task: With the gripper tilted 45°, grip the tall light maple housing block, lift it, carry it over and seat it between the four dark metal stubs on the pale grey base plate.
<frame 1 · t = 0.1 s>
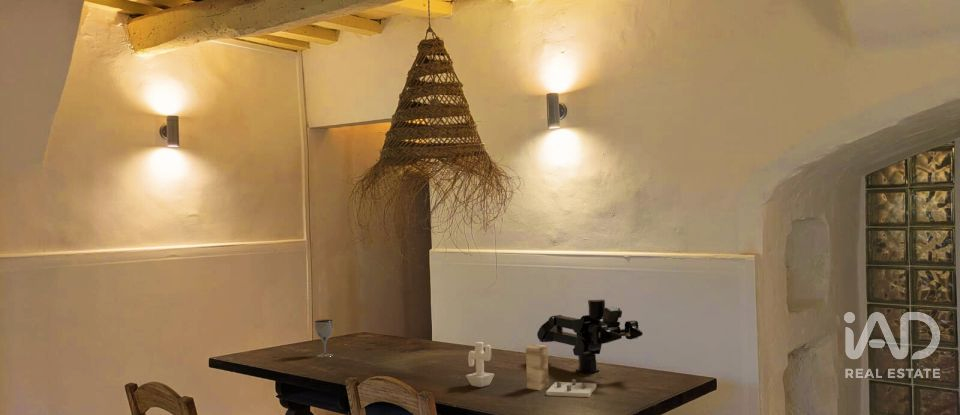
hand: (631, 335, 273), 17 cm above the table, tool horizontal, fingers open, 9 cm apart
figurine: (480, 385, 279), on the table
maple housing block: (537, 387, 273), on the table
wine glass: (325, 356, 343), on the table
stub base plate: (571, 391, 266), on the table
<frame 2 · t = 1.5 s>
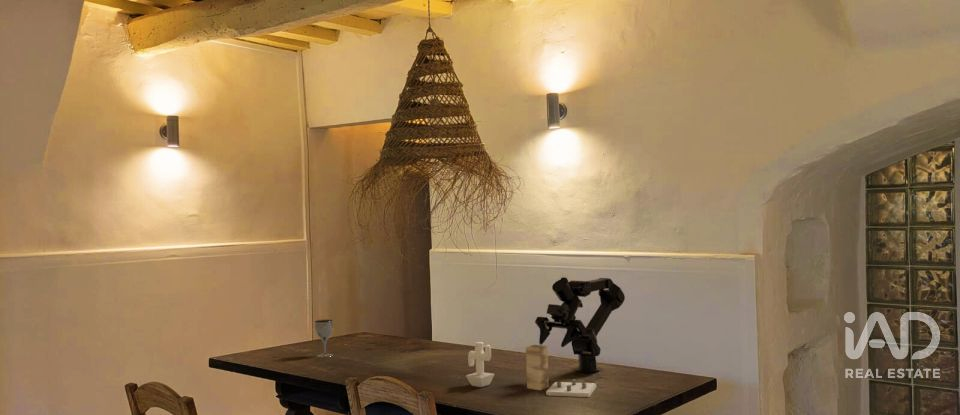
hand: (550, 345, 278), 13 cm above the table, tool tilted 45°, fingers open, 9 cm apart
nothing on the table moved.
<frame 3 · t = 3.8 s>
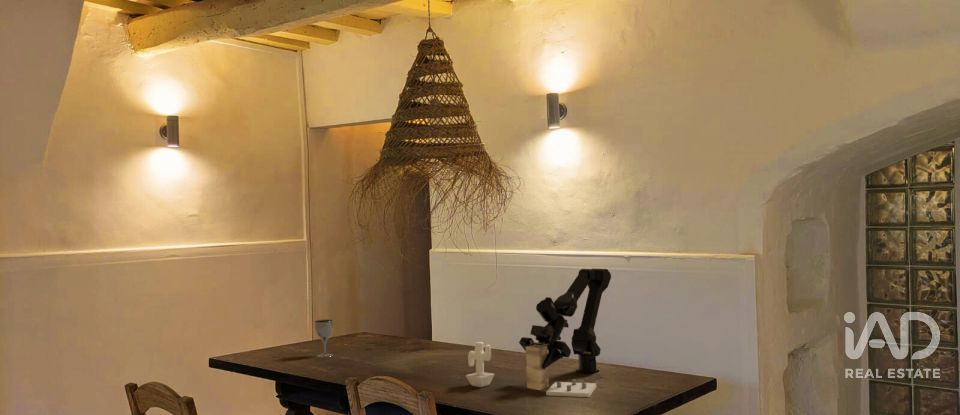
hand: (534, 367, 271), 7 cm above the table, tool tilted 45°, fingers open, 7 cm apart
nothing on the table moved.
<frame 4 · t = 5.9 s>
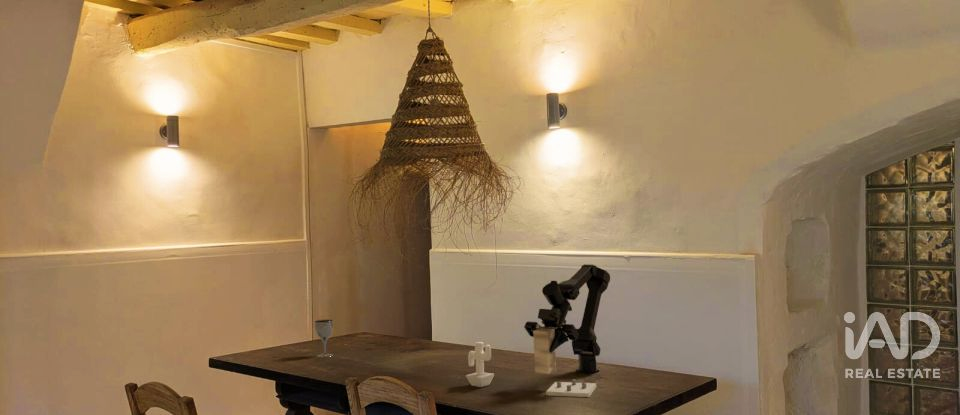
hand: (543, 351, 269), 13 cm above the table, tool tilted 45°, fingers closed on maple housing block, 5 cm apart
maple housing block: (545, 371, 270), point 6 cm above the table, touching gripper
everything else where it was.
when the fingers open (9 cm above the table, at t = 8.0 s): maple housing block stays where it is, resting on stub base plate.
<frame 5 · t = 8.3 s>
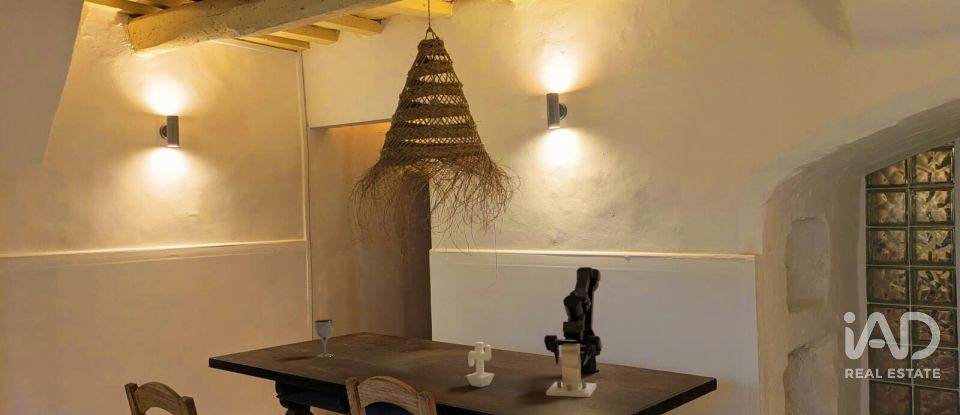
hand: (569, 364, 265), 9 cm above the table, tool tilted 45°, fingers open, 8 cm apart
maple housing block: (571, 387, 266), point 1 cm above the table, touching stub base plate
everything else where it was.
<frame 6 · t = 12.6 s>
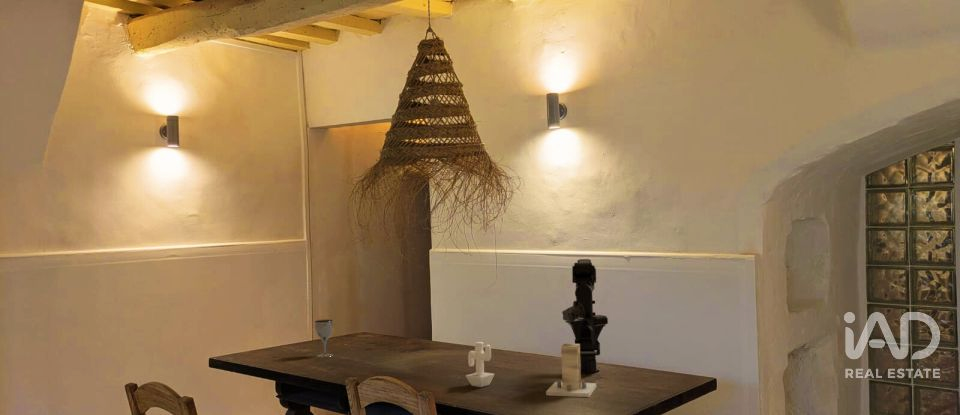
hand: (585, 342, 282), 13 cm above the table, tool pointing down, fingers open, 9 cm apart
nothing on the table moved.
at the end: maple housing block 0.1 cm off-centre on the stub base plate, point 1.2 cm above the stub base plate's base; maple housing block tilted 0°; the gripper is holding nothing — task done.
